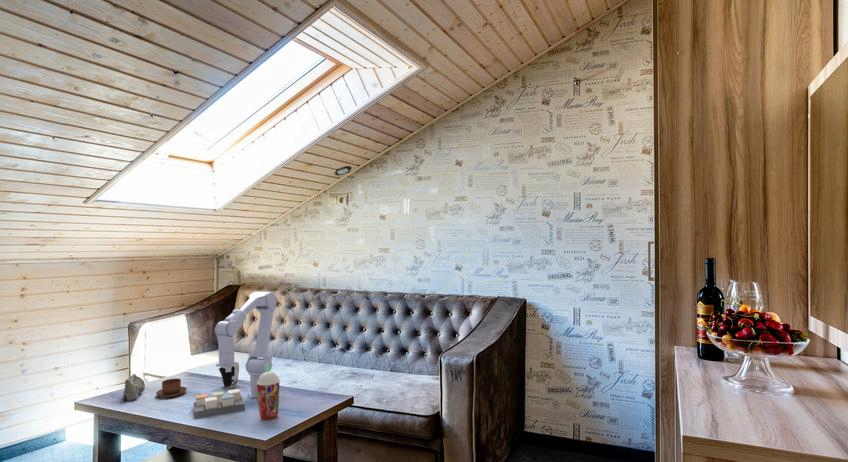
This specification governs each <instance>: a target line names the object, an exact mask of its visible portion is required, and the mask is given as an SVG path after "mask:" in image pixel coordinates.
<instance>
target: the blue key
mask: <svg viewBox="0 0 848 462" xmlns="http://www.w3.org/2000/svg"><path fill="white" fill-rule="evenodd" d="M221 402H222V407H225V406H231V405H234V396H233V394H230V395H228V394H224V396H221Z"/></svg>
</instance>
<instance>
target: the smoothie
mask: <svg viewBox="0 0 848 462" xmlns="http://www.w3.org/2000/svg"><path fill="white" fill-rule="evenodd" d="M280 381H281V379H280V378H279V375H277V373H275V372H273V371H271V370H270V371H269V364H267V372H264V373H263V374H261V375H260V377H259V379H258V381H257V392H258V397H257V403H258V413H259V417H260V419H261V420H262V421H271V420H275V419H276V418H277V417H278V415H279V410H280V409H279V407H280V405H279V404H280V383H281V382H280Z"/></svg>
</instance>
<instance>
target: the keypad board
mask: <svg viewBox="0 0 848 462" xmlns="http://www.w3.org/2000/svg"><path fill="white" fill-rule="evenodd" d="M245 405H246V404H245V401H244V399H243V397H242V395H241V394H240V400H234V405H231V406H225V407H222V402H221V403H217V408H212V409H206V410H205V405H202V406H196V401H193V414H194V419H197V418H204V417H210V416H216V414H217V415H221V414H228V413H233V412H239V411H245V410H246V406H245Z"/></svg>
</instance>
